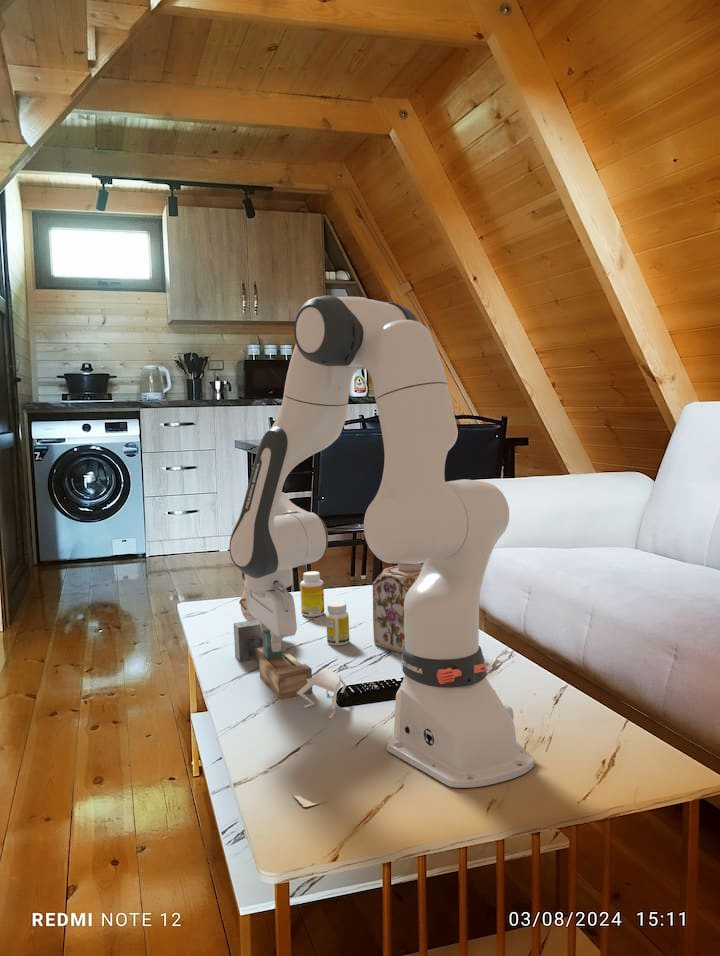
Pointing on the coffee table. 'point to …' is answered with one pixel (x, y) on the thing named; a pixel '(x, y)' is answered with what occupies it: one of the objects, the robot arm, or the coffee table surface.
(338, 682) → the origami figure
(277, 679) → the guide channel
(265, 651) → the slide bar
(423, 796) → the coffee table surface
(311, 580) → the supplement bottle
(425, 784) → the coffee table surface
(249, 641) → the socket block
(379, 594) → the decorative jar
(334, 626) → the supplement bottle
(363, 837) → the coffee table surface
